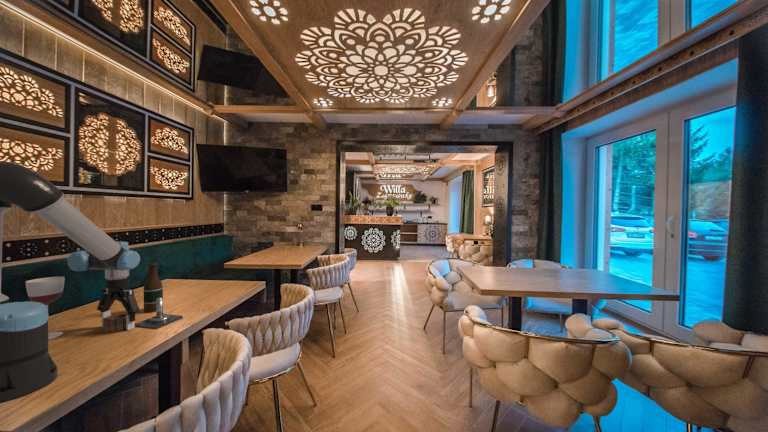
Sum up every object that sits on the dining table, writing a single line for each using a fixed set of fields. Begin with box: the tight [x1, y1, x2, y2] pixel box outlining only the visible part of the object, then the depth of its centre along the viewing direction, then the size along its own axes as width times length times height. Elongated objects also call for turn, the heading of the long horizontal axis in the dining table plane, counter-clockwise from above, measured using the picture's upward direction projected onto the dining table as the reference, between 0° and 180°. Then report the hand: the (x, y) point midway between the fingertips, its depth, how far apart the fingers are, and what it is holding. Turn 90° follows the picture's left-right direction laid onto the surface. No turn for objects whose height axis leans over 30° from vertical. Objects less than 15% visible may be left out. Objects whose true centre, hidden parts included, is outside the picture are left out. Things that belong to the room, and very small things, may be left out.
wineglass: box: [25, 276, 66, 340], centre depth 113 cm, size 9×10×23 cm
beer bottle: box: [143, 262, 164, 314], centre depth 143 cm, size 8×8×24 cm
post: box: [135, 297, 184, 330], centre depth 128 cm, size 12×12×11 cm
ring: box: [102, 312, 128, 334], centre depth 121 cm, size 9×9×5 cm
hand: (118, 327), depth 121 cm, fingers open, 12 cm apart
